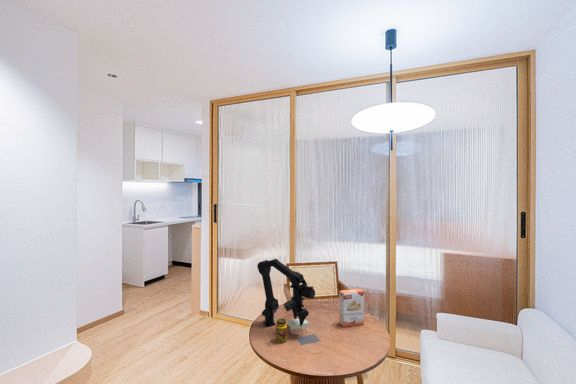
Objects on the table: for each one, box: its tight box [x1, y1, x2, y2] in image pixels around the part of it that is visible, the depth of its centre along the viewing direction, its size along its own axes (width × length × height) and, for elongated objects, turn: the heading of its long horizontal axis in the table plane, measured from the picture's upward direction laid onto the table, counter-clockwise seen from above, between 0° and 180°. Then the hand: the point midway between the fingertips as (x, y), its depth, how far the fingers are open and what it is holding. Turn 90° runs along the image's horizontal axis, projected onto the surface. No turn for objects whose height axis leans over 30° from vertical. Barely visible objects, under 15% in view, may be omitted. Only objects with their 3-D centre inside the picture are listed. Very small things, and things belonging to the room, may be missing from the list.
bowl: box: [289, 326, 307, 336], centre depth 168 cm, size 9×9×4 cm
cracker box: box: [339, 288, 365, 328], centre depth 177 cm, size 14×6×21 cm, turn 105°
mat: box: [295, 334, 321, 346], centre depth 158 cm, size 8×12×1 cm
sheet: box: [287, 318, 310, 329], centre depth 168 cm, size 7×10×2 cm
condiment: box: [275, 318, 288, 344], centre depth 158 cm, size 7×8×12 cm
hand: (298, 322), depth 168 cm, fingers open, 9 cm apart
